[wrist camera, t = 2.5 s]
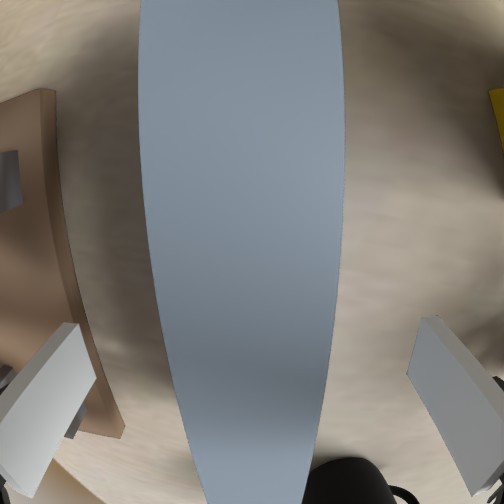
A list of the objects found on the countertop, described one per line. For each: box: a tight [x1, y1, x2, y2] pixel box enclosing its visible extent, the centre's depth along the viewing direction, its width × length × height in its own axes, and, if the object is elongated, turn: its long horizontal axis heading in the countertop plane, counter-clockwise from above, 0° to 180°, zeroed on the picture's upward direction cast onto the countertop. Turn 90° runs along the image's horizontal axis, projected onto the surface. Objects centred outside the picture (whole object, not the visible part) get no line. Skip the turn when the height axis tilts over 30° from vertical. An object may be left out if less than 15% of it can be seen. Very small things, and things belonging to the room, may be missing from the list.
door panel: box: [138, 0, 345, 504], centre depth 12 cm, size 20×4×10 cm, turn 1°
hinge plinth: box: [0, 88, 125, 439], centre depth 15 cm, size 24×11×4 cm, turn 1°
